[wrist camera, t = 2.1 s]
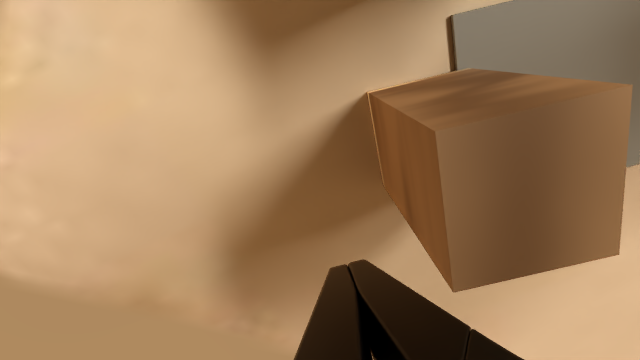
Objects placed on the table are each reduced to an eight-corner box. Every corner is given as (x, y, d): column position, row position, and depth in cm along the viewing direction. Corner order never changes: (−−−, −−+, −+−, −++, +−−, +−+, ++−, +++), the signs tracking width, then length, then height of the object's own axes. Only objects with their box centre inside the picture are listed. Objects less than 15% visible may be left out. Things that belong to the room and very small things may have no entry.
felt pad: (653, -34, 17) (657, -35, 17) (635, 162, 20) (639, 164, 20) (450, 15, 17) (452, 14, 16) (467, 206, 20) (469, 207, 20)
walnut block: (467, 67, 17) (632, 84, 9) (475, 163, 19) (618, 254, 11) (367, 92, 17) (435, 131, 9) (383, 185, 19) (453, 292, 11)
